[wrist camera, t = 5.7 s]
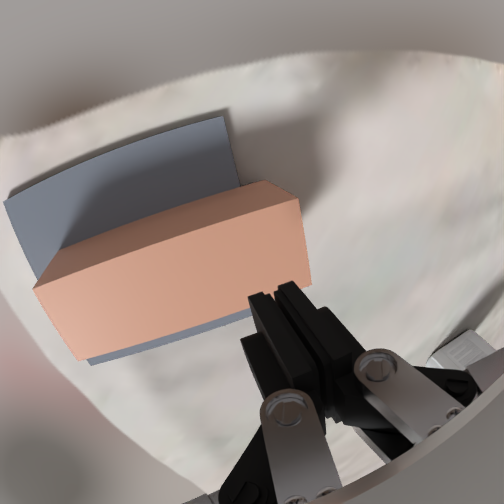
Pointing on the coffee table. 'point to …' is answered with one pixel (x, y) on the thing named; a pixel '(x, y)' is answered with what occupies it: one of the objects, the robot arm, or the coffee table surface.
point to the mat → (125, 199)
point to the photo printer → (461, 352)
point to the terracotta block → (174, 269)
